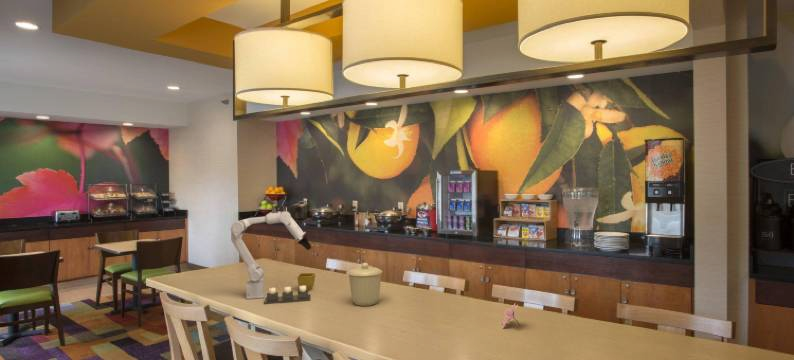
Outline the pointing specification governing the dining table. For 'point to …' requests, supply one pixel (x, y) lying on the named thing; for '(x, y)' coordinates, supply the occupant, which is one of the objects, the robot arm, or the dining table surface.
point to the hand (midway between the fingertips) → (309, 248)
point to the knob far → (302, 289)
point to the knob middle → (287, 290)
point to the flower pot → (306, 280)
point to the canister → (365, 284)
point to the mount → (287, 298)
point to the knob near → (272, 291)
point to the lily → (509, 315)
